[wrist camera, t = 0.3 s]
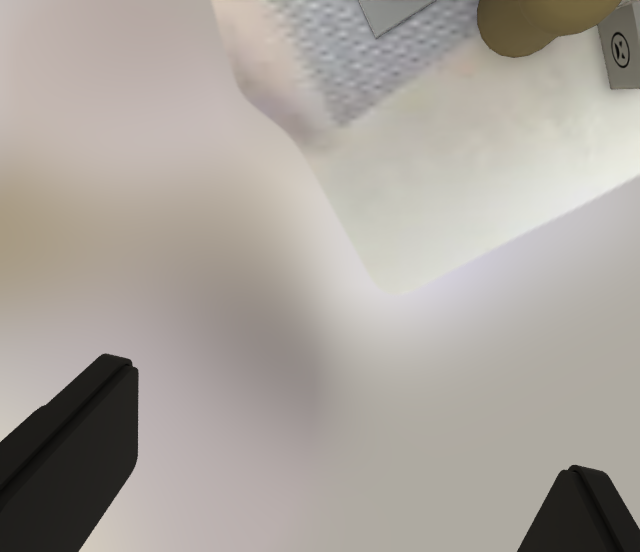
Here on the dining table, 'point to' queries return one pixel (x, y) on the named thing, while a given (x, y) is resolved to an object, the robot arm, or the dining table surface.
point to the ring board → (390, 12)
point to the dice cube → (622, 45)
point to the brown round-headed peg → (536, 22)
